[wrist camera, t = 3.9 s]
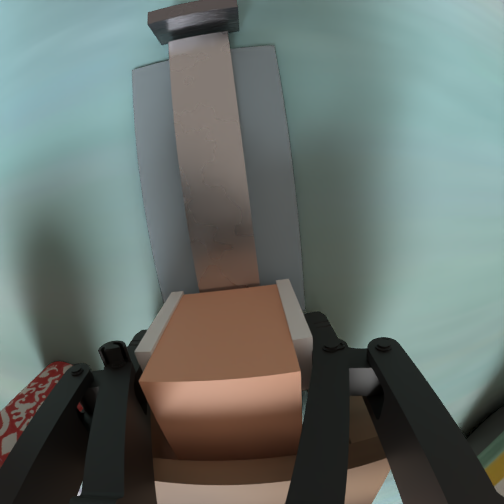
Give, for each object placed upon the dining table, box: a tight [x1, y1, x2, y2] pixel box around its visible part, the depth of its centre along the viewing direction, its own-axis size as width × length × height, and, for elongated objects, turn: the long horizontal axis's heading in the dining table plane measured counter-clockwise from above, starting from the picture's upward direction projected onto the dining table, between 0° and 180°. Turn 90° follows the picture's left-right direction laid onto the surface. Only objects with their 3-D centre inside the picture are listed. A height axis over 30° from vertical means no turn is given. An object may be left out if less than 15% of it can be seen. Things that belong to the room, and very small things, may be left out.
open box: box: [150, 390, 391, 504], centre depth 14 cm, size 9×12×12 cm
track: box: [148, 0, 260, 293], centre depth 16 cm, size 31×5×3 cm, turn 7°
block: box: [139, 284, 302, 461], centre depth 14 cm, size 16×6×8 cm, turn 7°
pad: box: [132, 45, 305, 311], centre depth 16 cm, size 17×9×1 cm, turn 7°
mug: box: [0, 361, 83, 468], centre depth 14 cm, size 13×9×14 cm
